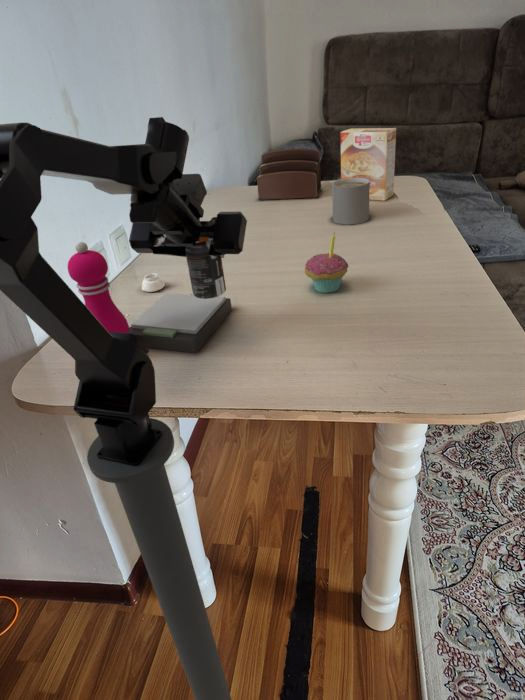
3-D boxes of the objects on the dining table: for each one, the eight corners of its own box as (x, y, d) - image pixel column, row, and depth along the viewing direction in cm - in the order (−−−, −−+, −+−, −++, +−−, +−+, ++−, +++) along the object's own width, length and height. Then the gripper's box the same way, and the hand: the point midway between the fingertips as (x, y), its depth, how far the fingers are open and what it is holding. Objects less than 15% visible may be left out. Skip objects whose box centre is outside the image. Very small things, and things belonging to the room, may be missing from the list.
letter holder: (265, 192, 169) (261, 150, 162) (321, 190, 164) (320, 146, 157) (258, 200, 161) (253, 156, 154) (317, 198, 156) (315, 152, 149)
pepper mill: (84, 360, 83) (45, 249, 73) (110, 339, 89) (77, 233, 78) (118, 366, 80) (83, 251, 70) (142, 343, 86) (113, 235, 75)
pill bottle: (232, 292, 85) (223, 229, 79) (203, 303, 82) (192, 239, 77) (215, 283, 89) (205, 223, 84) (187, 293, 87) (175, 231, 81)
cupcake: (354, 283, 99) (354, 225, 93) (337, 300, 93) (335, 240, 87) (317, 277, 103) (314, 222, 97) (298, 293, 98) (294, 236, 91)
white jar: (164, 291, 105) (164, 282, 110) (162, 278, 104) (162, 270, 108) (141, 294, 105) (142, 285, 109) (138, 282, 103) (139, 273, 107)
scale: (195, 353, 82) (192, 336, 80) (126, 345, 86) (121, 329, 85) (232, 309, 94) (229, 294, 93) (169, 305, 99) (166, 290, 97)
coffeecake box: (340, 198, 154) (339, 131, 144) (350, 192, 159) (350, 127, 149) (385, 201, 146) (387, 131, 136) (394, 194, 151) (397, 127, 141)
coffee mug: (368, 223, 130) (369, 185, 125) (331, 225, 132) (330, 187, 127) (369, 209, 141) (370, 173, 136) (335, 210, 143) (334, 175, 138)
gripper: (234, 156, 68) (264, 211, 83) (120, 162, 73) (166, 213, 88) (223, 228, 66) (255, 272, 80) (105, 229, 71) (156, 270, 86)
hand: (206, 255), depth 84 cm, fingers closed on pill bottle, 6 cm apart
